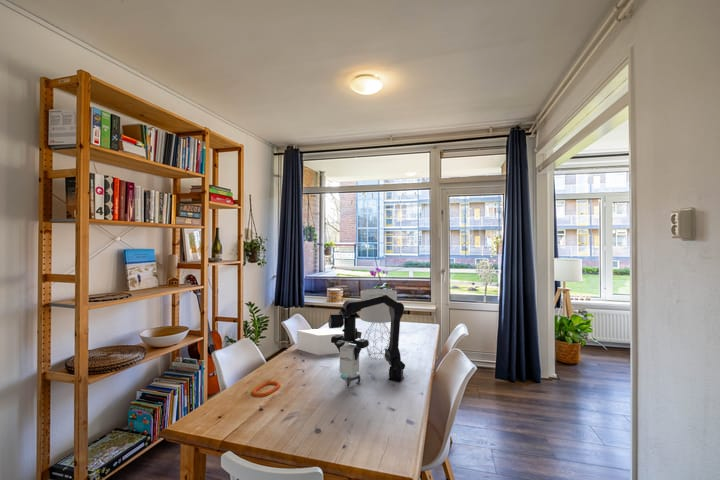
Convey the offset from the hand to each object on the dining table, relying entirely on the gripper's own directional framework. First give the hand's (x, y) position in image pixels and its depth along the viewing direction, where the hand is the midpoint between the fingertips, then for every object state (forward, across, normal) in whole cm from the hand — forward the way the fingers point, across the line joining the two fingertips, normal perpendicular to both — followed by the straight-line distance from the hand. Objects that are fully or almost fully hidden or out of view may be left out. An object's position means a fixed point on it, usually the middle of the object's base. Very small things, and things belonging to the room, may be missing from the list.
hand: (349, 358), depth 158 cm
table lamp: (+13, +6, -45) cm, 47 cm away
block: (+14, +43, -36) cm, 58 cm away
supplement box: (+7, 0, 0) cm, 7 cm away
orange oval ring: (+14, +32, +23) cm, 42 cm away
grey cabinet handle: (+13, 0, -2) cm, 13 cm away
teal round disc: (+13, +6, -10) cm, 18 cm away
